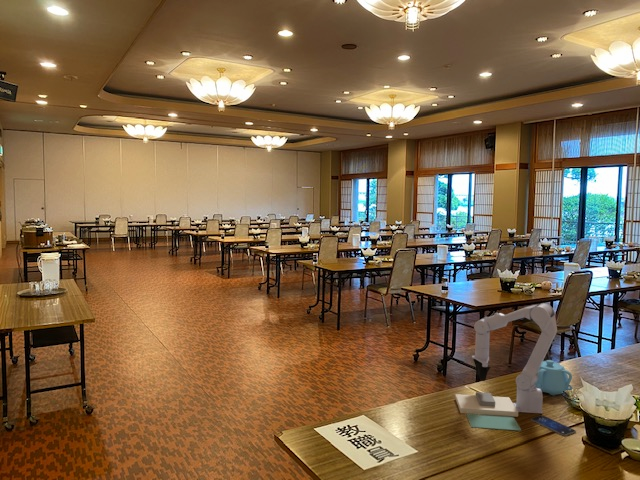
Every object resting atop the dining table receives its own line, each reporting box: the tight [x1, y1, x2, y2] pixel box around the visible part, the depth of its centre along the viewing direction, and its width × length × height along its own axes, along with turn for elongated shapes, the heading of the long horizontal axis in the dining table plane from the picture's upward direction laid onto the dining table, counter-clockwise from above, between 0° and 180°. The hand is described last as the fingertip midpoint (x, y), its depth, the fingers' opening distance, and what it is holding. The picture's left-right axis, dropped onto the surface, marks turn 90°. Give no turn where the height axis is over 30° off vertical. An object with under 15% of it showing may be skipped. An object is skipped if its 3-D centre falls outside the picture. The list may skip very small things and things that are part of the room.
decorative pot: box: [535, 359, 573, 396], centre depth 216 cm, size 16×16×14 cm
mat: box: [465, 413, 522, 432], centre depth 185 cm, size 18×11×1 cm, turn 83°
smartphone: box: [530, 414, 577, 437], centre depth 183 cm, size 7×1×15 cm
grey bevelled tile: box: [475, 391, 495, 407], centre depth 199 cm, size 6×9×2 cm, turn 173°
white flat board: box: [454, 393, 519, 418], centre depth 198 cm, size 22×14×2 cm, turn 83°
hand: (480, 377), depth 208 cm, fingers open, 6 cm apart
